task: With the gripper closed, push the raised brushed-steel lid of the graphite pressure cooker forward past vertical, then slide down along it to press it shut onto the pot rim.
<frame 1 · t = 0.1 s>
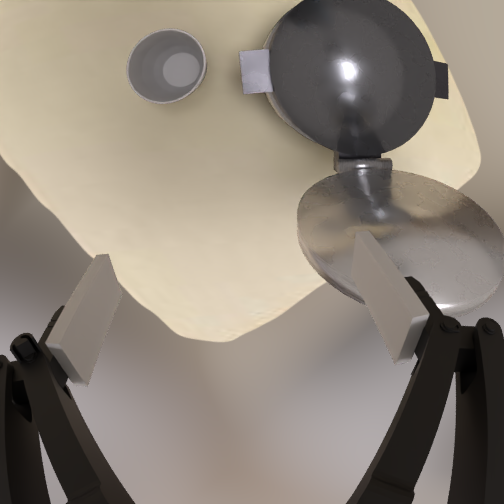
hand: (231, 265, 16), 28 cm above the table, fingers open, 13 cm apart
cup: (181, 70, 34), on the table
cooker: (328, 72, 35), on the table
lid: (402, 223, 23), point 21 cm above the table, hinge at 98.0°
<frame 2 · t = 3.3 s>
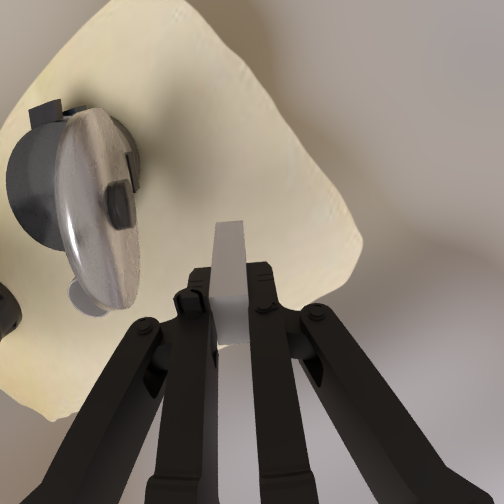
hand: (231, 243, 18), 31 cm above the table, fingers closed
cup: (107, 264, 54), on the table
cooker: (89, 165, 44), on the table
lid: (112, 203, 26), point 21 cm above the table, hinge at 98.0°
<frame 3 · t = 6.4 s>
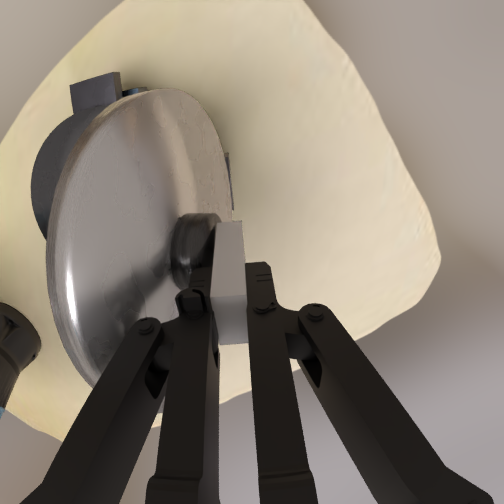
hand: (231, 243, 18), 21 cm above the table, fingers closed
cooker: (141, 168, 36), on the table
lid: (188, 244, 18), point 21 cm above the table, hinge at 74.0°, touching gripper
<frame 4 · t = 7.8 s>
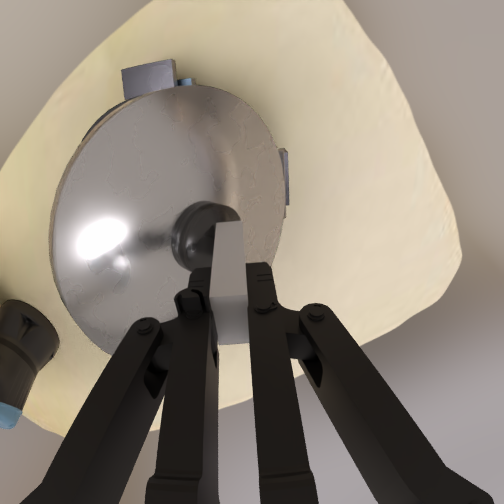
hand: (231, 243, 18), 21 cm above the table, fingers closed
cooker: (181, 161, 36), on the table
lid: (206, 229, 20), point 19 cm above the table, hinge at 46.6°, touching gripper
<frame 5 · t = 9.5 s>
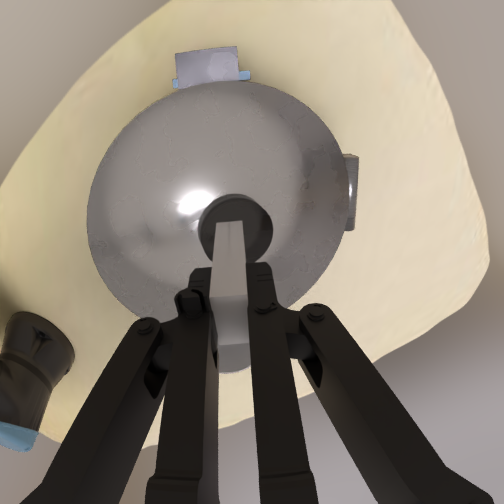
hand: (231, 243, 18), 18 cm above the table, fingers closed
cup: (225, 298, 43), on the table
cooker: (223, 163, 33), on the table
lid: (242, 221, 20), point 16 cm above the table, hinge at 16.2°, touching gripper
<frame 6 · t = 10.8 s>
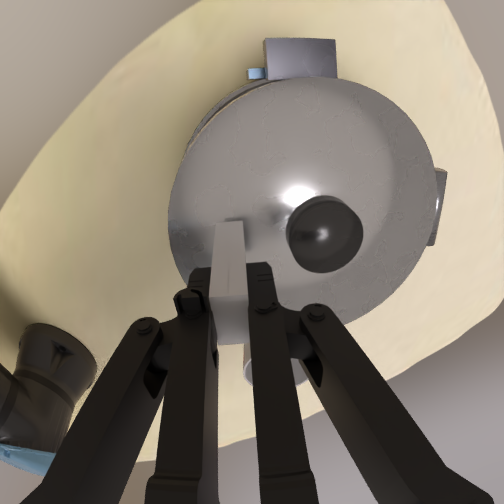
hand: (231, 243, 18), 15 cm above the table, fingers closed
cup: (271, 310, 41), on the table
cooker: (283, 166, 31), on the table
lid: (331, 225, 19), point 14 cm above the table, hinge at 4.2°
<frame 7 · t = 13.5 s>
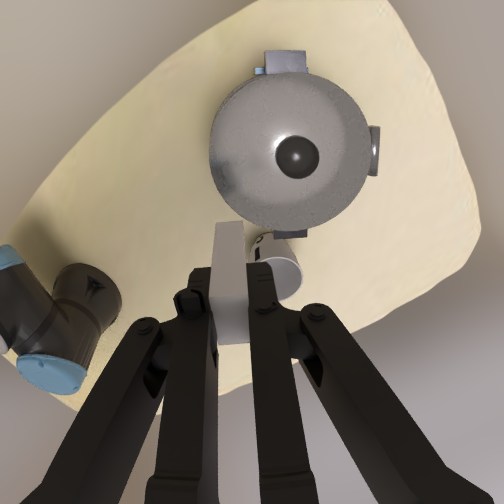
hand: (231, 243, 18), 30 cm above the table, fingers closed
cup: (268, 245, 53), on the table
cooker: (277, 134, 43), on the table
lid: (302, 154, 32), point 14 cm above the table, hinge at 3.1°
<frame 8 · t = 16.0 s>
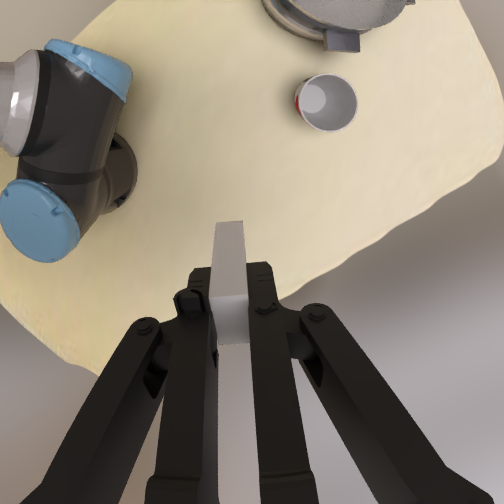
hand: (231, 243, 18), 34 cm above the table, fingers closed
cup: (311, 98, 45), on the table
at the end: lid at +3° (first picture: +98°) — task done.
